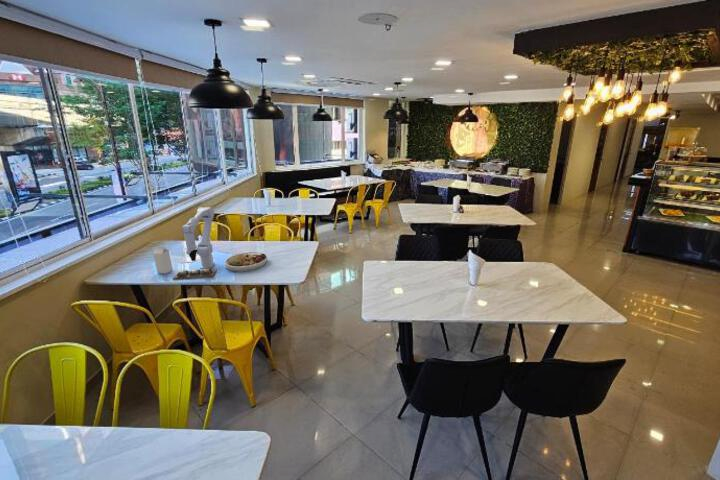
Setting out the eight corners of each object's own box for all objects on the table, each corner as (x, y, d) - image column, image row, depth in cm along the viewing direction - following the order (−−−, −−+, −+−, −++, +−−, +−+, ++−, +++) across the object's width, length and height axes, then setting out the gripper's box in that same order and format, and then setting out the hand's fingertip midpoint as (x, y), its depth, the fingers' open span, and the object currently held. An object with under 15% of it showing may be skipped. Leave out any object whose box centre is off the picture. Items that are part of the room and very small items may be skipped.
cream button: (193, 272, 246) (192, 269, 245) (198, 272, 246) (197, 269, 245) (191, 274, 243) (190, 271, 242) (196, 274, 243) (196, 271, 242)
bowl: (223, 275, 244) (221, 265, 242) (227, 260, 272) (225, 251, 269) (268, 270, 251) (266, 259, 249) (267, 256, 279) (266, 246, 277)
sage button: (181, 273, 245) (180, 270, 245) (186, 273, 246) (186, 269, 245) (179, 275, 242) (178, 272, 241) (184, 275, 242) (184, 271, 241)
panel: (179, 273, 250) (178, 269, 249) (217, 270, 252) (216, 266, 251) (173, 279, 240) (172, 275, 239) (212, 277, 242) (211, 272, 241)
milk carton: (166, 273, 250) (160, 248, 244) (157, 273, 252) (151, 248, 246) (173, 269, 257) (167, 245, 251) (164, 269, 258) (159, 244, 252)
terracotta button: (205, 272, 247) (204, 268, 246) (210, 271, 247) (209, 268, 246) (203, 274, 243) (202, 270, 242) (208, 273, 244) (208, 270, 243)
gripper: (188, 239, 247) (191, 257, 251) (180, 245, 233) (183, 264, 237) (198, 238, 247) (201, 256, 251) (191, 244, 233) (194, 264, 237)
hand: (193, 260), depth 244 cm, fingers closed
